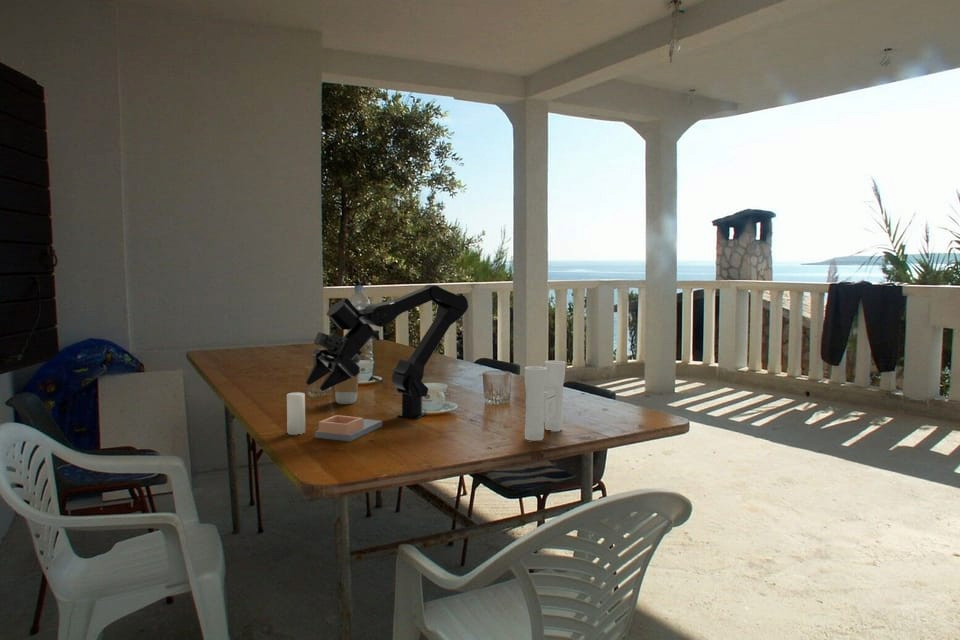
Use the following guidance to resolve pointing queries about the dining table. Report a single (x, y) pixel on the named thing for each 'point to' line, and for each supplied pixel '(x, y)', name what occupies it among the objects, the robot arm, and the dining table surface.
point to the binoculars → (544, 398)
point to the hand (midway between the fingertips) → (313, 386)
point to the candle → (295, 413)
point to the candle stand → (346, 427)
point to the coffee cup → (347, 388)
